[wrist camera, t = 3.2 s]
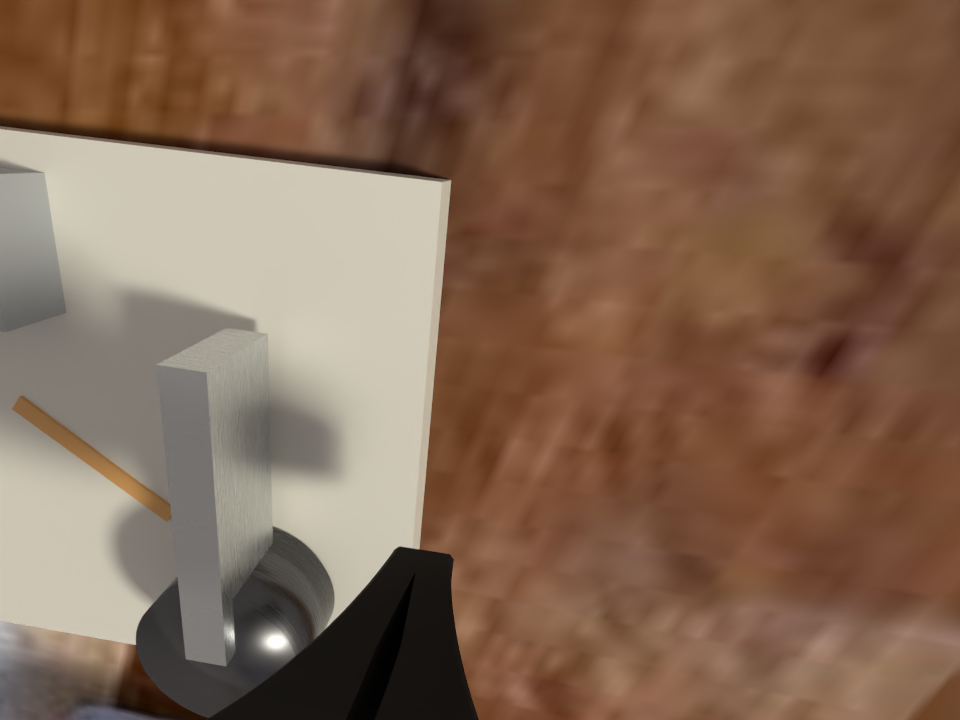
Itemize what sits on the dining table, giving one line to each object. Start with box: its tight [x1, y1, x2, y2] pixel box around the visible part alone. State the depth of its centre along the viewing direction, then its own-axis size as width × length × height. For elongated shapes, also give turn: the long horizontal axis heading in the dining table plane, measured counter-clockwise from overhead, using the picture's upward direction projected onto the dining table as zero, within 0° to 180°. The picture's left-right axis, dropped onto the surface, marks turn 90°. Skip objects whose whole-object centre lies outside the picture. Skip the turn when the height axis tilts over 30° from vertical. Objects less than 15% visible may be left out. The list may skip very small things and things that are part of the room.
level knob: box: [136, 328, 335, 718], centre depth 16 cm, size 12×5×4 cm, turn 174°
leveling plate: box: [0, 126, 451, 645], centre depth 18 cm, size 18×18×4 cm
